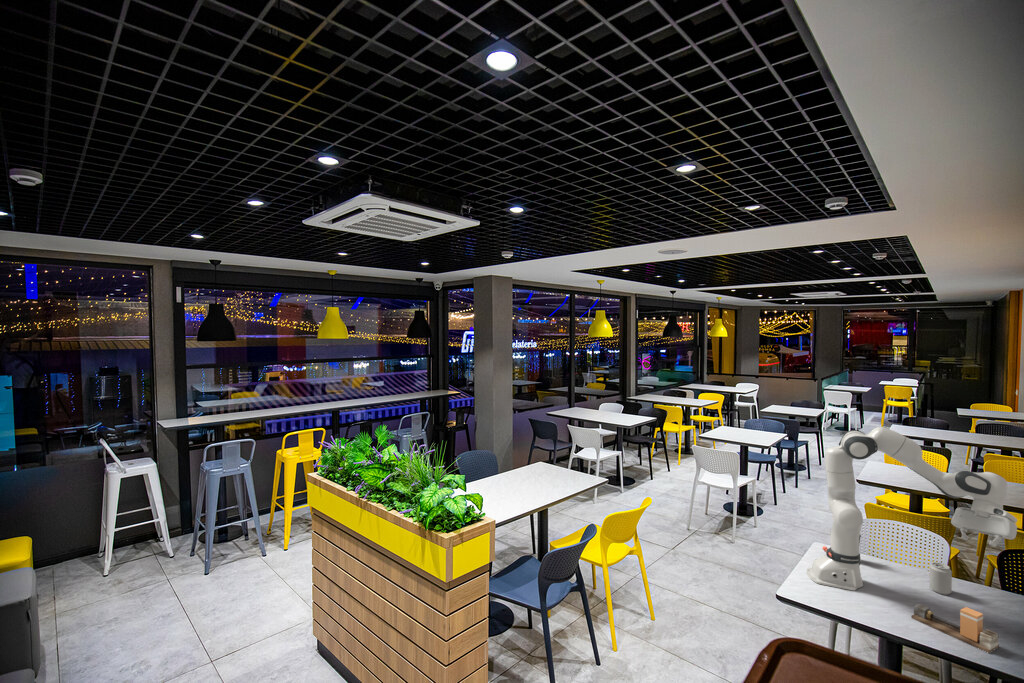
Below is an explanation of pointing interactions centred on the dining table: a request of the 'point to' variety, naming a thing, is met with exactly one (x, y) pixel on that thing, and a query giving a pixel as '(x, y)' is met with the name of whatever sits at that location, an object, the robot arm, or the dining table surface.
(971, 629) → the orange box
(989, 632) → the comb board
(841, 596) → the dining table surface
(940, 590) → the can
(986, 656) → the dining table surface
